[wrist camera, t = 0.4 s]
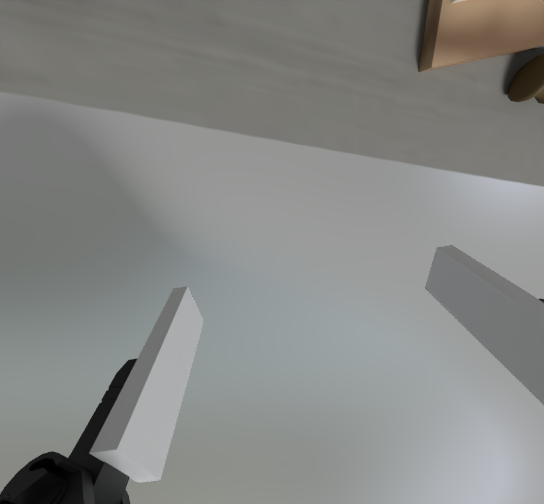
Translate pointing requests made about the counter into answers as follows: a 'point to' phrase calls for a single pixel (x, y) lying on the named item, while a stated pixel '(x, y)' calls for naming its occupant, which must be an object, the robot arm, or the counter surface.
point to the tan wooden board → (479, 30)
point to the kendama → (529, 82)
